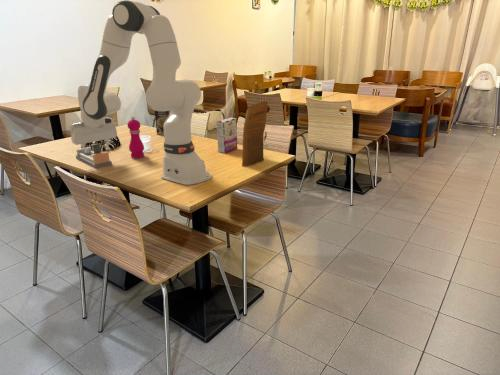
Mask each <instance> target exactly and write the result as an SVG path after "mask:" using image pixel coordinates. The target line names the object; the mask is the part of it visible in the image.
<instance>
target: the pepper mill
mask: <svg viewBox="0 0 500 375" xmlns="http://www.w3.org/2000/svg"><path fill="white" fill-rule="evenodd" d="M130 119H131V120H129V121H128V122H127V128H128V129H129V134H130V143H129V145H128V150H129V152H130V158H133V159H141V158H144V157H145V153H144V152H143V151H144V150H145V145H144V143H143V141H142V139H141V136H140V133H141V130H140V128H141V122H140V121H139V120H137V119H136V117H135V116H131V118H130Z"/></svg>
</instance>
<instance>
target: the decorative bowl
mask: <svg viewBox="0 0 500 375" xmlns="http://www.w3.org/2000/svg"><path fill="white" fill-rule="evenodd" d="M96 143H98V144H100V151H101V152H106V151H107V149H105V148H104V145H105V144H106V140H100V141H95V142H90V143H85V144H86V146H85V147H86V148H87V147H91V149H92V151H93V144H96ZM117 147H121V140H120V139H119V137H118V135H117V136H116V138H111V139H110V143H109V148H108V151H110V150H114V149H117ZM82 148H83V147H82V146H81V145H80V149H82ZM93 152H94V151H93Z"/></svg>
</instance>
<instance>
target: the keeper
mask: <svg viewBox="0 0 500 375" xmlns="http://www.w3.org/2000/svg"><path fill="white" fill-rule="evenodd" d="M92 147H93V149H92V150H93V152H94V154H97V153H102V150H101V151H100V147H101V145H100V144H98V143H95V144H94V143H92ZM92 158H93V154H92Z"/></svg>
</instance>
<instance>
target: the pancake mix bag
mask: <svg viewBox="0 0 500 375" xmlns="http://www.w3.org/2000/svg"><path fill="white" fill-rule="evenodd" d="M268 108H269V107H268V102H267V100H264V101H261V102H258V103H256V104H252V105H249V106H247V109H246V113H245V117H244V122H243V128H242V129H243V130H242V150H241V151H242V154H241V156H242V158H241V159H242V160H241V164H242V165H241V167H250V166H253V165H256V164H257V163H260V162H262V161H264V135H265V129H266V123H267V114H268Z"/></svg>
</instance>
